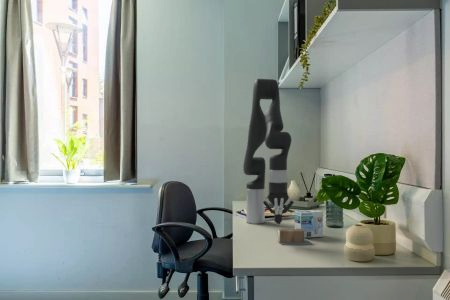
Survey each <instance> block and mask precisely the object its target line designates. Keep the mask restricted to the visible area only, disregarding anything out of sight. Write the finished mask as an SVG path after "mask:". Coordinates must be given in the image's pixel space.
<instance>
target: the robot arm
mask: <svg viewBox="0 0 450 300" xmlns="http://www.w3.org/2000/svg"><path fill="white" fill-rule="evenodd" d="M252 88H253V89H252V104H251V113H250V121H249V126H248V135H247V146H246V150H245V155H244V160H243V166H242V167H243V170H242V171H243V173H244V174H245V175H246V176H257V177H256V178H255V179H253V180H251V181H248V182H247V183H246V218H245V219H246V223H247V224H255V225H258V224H260V225H261V224H264V223H265V216H266V215H265V213H266V211H265V209H267V210H268V212H270V214H273V215H274V216H273V217H274V219H273V220H274V222H275V224H276V225H280V224H281V223H282V222H283V214H287V212H288V211H289V210H290V209H291V207H292V206H293V204H294V202H295V201H294V200H292V199H290V197H289V195H288V181H289V179H288V157H289V152H290V148H291V144H292V136H291V134H290V133H289V132H287V131H283V129H284V122H283V117H282V112H281V100H280V87H279V83H278V81H277V80H276V79H274V78H273V79H272V78H256V79H255V81H254V83H253V87H252ZM261 100H269V101H270V100H271V103H270V104H269V106H268V107H267V110H265V113H264V111H263V109H262V107H261ZM263 143H265V146H266V148H267V149H269V150H280V152H279V153H278V154H274V155H271V156H269V173H268V195H267V198H265V197H266V196H265V192H266V191H265V189H266V188H265V187H266V186H265V184H266V159H265V158H264V157H263V156H262V157H261V156H255V153H256V151H257V150H258V149H259V148H260V147H261V146H262V145H263ZM254 156H255V157H254ZM270 204H271V205H272V206H273V207H271V206H270ZM285 204H286V205H285Z"/></svg>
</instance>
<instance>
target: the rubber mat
mask: <svg viewBox="0 0 450 300" xmlns="http://www.w3.org/2000/svg"><path fill="white" fill-rule="evenodd" d="M280 244H281V246H295V245H296V246H299V245H301V246H303V245H310V246H311V245H313V243H312V242H311V241H309V239H308V238H304V242H282V243H280Z"/></svg>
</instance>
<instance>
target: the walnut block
mask: <svg viewBox="0 0 450 300" xmlns="http://www.w3.org/2000/svg"><path fill="white" fill-rule="evenodd" d="M276 231H277V233H276V234H277V235H276V239H277V242H278V243H280V244H281V243H282V242H304V231H303V230H302V229H295V228H277V229H276Z"/></svg>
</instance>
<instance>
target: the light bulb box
mask: <svg viewBox="0 0 450 300" xmlns="http://www.w3.org/2000/svg"><path fill="white" fill-rule="evenodd" d="M294 229H302V230H303V231H304V238H306V239H308V238H322V237H324V211H321V210H318V209H310V210H295V211H294Z"/></svg>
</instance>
